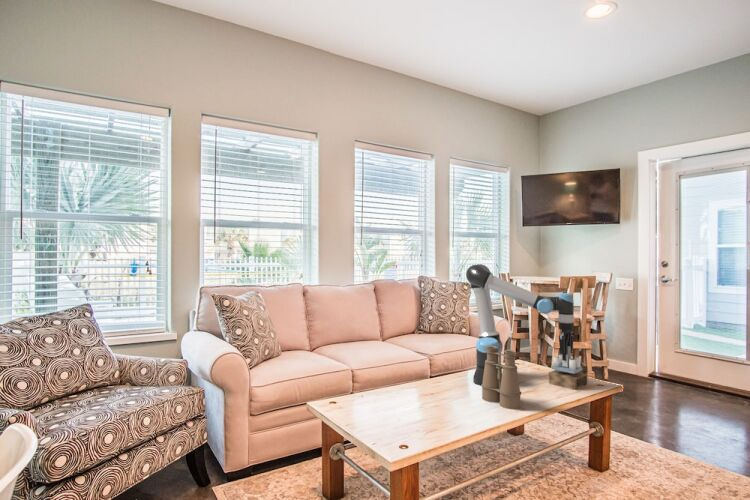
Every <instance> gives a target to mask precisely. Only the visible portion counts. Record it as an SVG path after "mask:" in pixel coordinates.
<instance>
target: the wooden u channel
mask: <svg viewBox="0 0 750 500" xmlns="http://www.w3.org/2000/svg"><path fill="white" fill-rule="evenodd" d="M580 365H581V364H580ZM581 367H582V371H580V372H577V373H575V374H573V373H568V372H563V371H558V370H552V371H550V372H548V384H549V385H552V384H553V386H557V385H558V386H557V387H561V388H566V389H569V388H570V390H574V391H576V390H577V386H578V385H577V383H578V384H582V385H586V386H587V385H588V366H587V365H581Z"/></svg>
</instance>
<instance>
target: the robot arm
mask: <svg viewBox="0 0 750 500" xmlns="http://www.w3.org/2000/svg"><path fill="white" fill-rule="evenodd" d="M465 277H466V280H467V281H468V282H469V283H470V288H471V290H472V291H473V292H474V298H475V302H476V303H475V305H476V309H477V317H478V322H479V329H480V333H479V334H478V339H477V340H476V344H475V348H476V350H475V351H476V368H475V370H474V374H473V380H472V381H473V383H474V384H476V385H478V386H481V384H482V383H483V375H484V368H485V360H487V353H486V351H487V348H486V346H496V347H497V350H496V351H497V352H498V353H501V354H502V351H503V341H502V340H501V337H500V332H498V331H497V328H496V323H495V316H494V312H493V311H494V310H493V305H492V298H491V297H492V296H491V292H490V290H491V291H493V292H495V293H498V294H500V295H502V296H504V297H506V298H510V299H512V300H514V301H516V302H519V303H521V304H523V305H525V306H528V307H530V308H532V309H534V310H537V311H538V312H540V313H541V314H544V315H548V314H550V313H552V311H554V312H555V311H558V320H557V321H558V329H559V330H560V331H561V333H560V334H559V335H558V342H559V355H562V366H564V367H568V355H567V346H571V354H573V353H574V335H575V334H574V332H572V331H574V329H575V326H574V324H575V323H574V321H575V320H574V319H575V315H574V312H575V311H574V307H575V306H574V305H575V303H574V295H573V294H572V293H569V292H567V293H566V292H563V293H562V292H560V293H558V295H557V296H543V295H539V294H537V293H535V292H534V291H530V290H527V289H525V288H523V287H521V286H518V285H516V284H514V283H511V282H509V281H508V280H504V279H503V278H500V277H497V276H496V275H493V272H491V271H490V269H489V268H488V267H487V266H486V265H485V264H481V263H480V264H478V263H477V264H472V265H471V266H469V267H468V268H467V270H466V273H465ZM497 361H498V362H499V355H498V354H497Z"/></svg>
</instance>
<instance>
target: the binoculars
mask: <svg viewBox="0 0 750 500" xmlns="http://www.w3.org/2000/svg"><path fill="white" fill-rule="evenodd" d="M486 348H487V351H486V353H487V360H485V368H484V375H483V383H482V384H481V385H480V386H481V393H482V394H481V399H482V400H483V401H485V402H489V403H499V406H500V407H502V408H504V409H506V410H507V409H508V410H519V409H520V408H521V406H522V405H521V395H522V392H521V387H520V380H519V374H518V373H519V372H518V366H517V365H516V358H517V355H516V353H517V351H516V350H513V349H504V350H503V352H504V353H502V352H501V353H498V352H497V351H496V350H497V347H496V346H486ZM497 354H498V355H499V357H498V361H497ZM501 356H503V357H504V364H502V363H501V362H502V361H501V360H502V357H501Z"/></svg>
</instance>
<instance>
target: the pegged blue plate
mask: <svg viewBox="0 0 750 500" xmlns="http://www.w3.org/2000/svg"><path fill="white" fill-rule="evenodd" d="M567 355H568V367H564V366H562V354H558V356H556V355H555V356H553V357H552V358H553V359H552V363H553V364H552V366H551V370H552V371H554V370H558V371H563V372H568V373H573V374H575V373H577V372H580V371H582V367H581V357H574V358H573V359H572V353H571V346H567Z"/></svg>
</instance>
